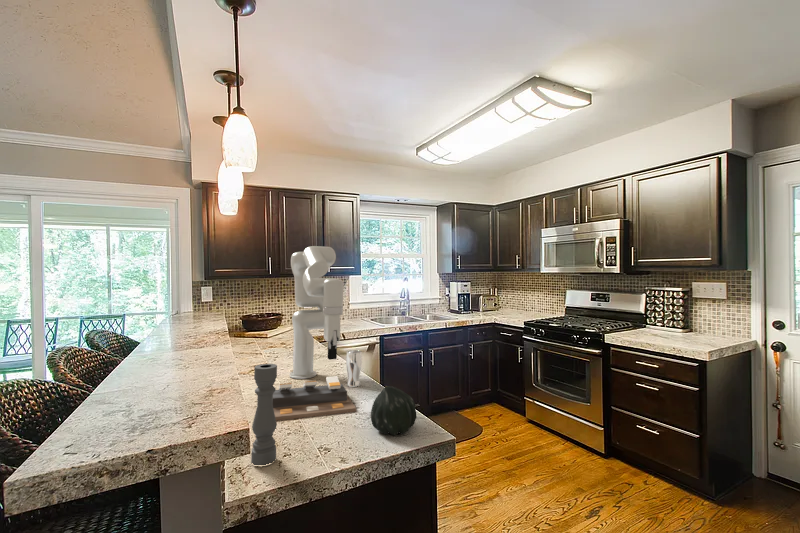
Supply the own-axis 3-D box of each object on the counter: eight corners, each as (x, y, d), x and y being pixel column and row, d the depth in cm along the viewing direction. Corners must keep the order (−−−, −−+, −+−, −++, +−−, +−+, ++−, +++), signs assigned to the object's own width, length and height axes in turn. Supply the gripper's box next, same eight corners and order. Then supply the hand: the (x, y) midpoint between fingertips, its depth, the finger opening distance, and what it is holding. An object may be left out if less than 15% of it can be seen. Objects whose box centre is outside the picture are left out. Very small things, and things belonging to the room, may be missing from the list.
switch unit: (268, 399, 144) (268, 384, 144) (344, 392, 154) (344, 378, 154) (267, 421, 123) (268, 403, 123) (355, 411, 133) (356, 395, 133)
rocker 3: (326, 379, 148) (326, 376, 147) (337, 378, 149) (337, 375, 149) (329, 389, 140) (329, 385, 140) (340, 388, 142) (340, 384, 141)
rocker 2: (303, 387, 144) (302, 383, 144) (314, 386, 145) (314, 382, 146) (304, 385, 137) (304, 381, 138) (316, 384, 139) (316, 380, 139)
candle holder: (261, 469, 93) (263, 370, 94) (246, 462, 96) (248, 367, 97) (281, 459, 98) (283, 365, 99) (265, 453, 102) (267, 362, 102)
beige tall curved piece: (362, 383, 168) (363, 350, 168) (359, 387, 161) (360, 353, 161) (347, 382, 168) (348, 349, 168) (344, 387, 161) (344, 352, 162)
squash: (427, 407, 123) (398, 372, 125) (420, 427, 109) (388, 387, 111) (396, 432, 126) (368, 397, 128) (385, 454, 111) (354, 414, 113)
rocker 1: (278, 389, 141) (278, 385, 142) (290, 388, 142) (290, 384, 143) (279, 388, 134) (279, 383, 134) (292, 387, 135) (292, 382, 136)
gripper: (320, 309, 148) (319, 355, 147) (326, 313, 134) (325, 364, 133) (338, 309, 150) (338, 354, 150) (346, 312, 136) (345, 362, 136)
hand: (332, 358), depth 141 cm, fingers closed
